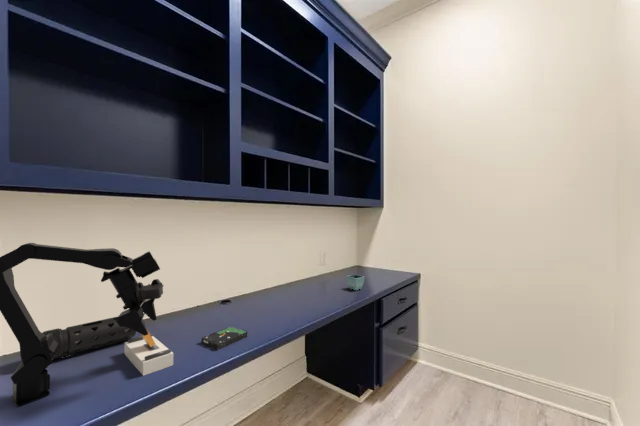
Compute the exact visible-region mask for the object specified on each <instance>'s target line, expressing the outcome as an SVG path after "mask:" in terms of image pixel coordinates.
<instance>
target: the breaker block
mask: <svg viewBox="0 0 640 426" xmlns="http://www.w3.org/2000/svg"><path fill="white" fill-rule="evenodd" d="M150 335H151V337H152V339H153V340H154V342H155V346H156V348H155V349H153V348H152V347H150V346H149V345H148V344H147V343H146V342H145V340H144V339H143V337H142V335H140V336H138V337H132V339H129V340H127V341H125V342H124V346H123V347H124V348H123V349H124V350H123V351H124V356H126V358H127V359H128V360H129V361H130V363H131V364H132V365H133V366H134V367H135V368H136V369H137V371H138V372H139V373H140V374H141V375H142V376H146V375H150V374H151V373H152V374H153V373H155V372H157V371H160V370H163V369H166V368H169V367H171V366H174V352H173V351H172V349H171V348H168V347H167V346H166V345H165V344H163V343H162V342H161V341H159V339H157V338H156V337H155V336H154V335H153V333H150Z"/></svg>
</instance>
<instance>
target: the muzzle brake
mask: <svg viewBox="0 0 640 426" xmlns="http://www.w3.org/2000/svg"><path fill="white" fill-rule="evenodd" d="M117 317H118V316H115V317H114V316H113V317H108V318H104V319H101V320H95V321H91V322H85V323H81V324H76V325H72V326H67V327H66V328H65V329H62V328H53V329H48V330H44V331H43V332H42V333H43V334H44V335H48V334H50V333H52V334H53V337H54V340H55V341H56V342H57V343H58V345H57V352H56V354H55V356H54V358H53V360H54V359H59V358H60V359H61V358H62V357H65V358H67V357H66V356H69V355H73V356H74V355H75V354H76V353H79V352H83V351H88V350H90V349H94V350H96V349H98V348H100V347H108V346H110V345H114V344H118V343H122V342H127V341H128V340H129V339H133V338H135V336H136V333H137V332H136V331H134V330H132V329H130V328H127V327H122V326H121V327H119V326H118V325H117V323H116V320H117ZM69 357H70V356H69ZM62 359H63V358H62Z"/></svg>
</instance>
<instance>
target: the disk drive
mask: <svg viewBox="0 0 640 426" xmlns="http://www.w3.org/2000/svg"><path fill="white" fill-rule="evenodd" d="M243 338H244V339H246V338H248V331H247V330H244V329H241V328H236V327H234V326H229V327H225V328H223V329H221V330H218V331H216V332H212V333H209V334H208V335H205V336H203V337H201V344H202V345H204V346H206V347H209V348H212V349H214V350H216V349H217V350H216V351H220V350H222V349H224V348H227V347H229V346H231V345H233V344H235V343H237V342H239V341H242V340H244V339H243ZM241 339H242V340H241ZM232 343H233V344H232ZM230 344H231V345H230ZM221 348H222V349H221ZM219 349H220V350H219Z"/></svg>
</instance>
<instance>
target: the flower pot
mask: <svg viewBox="0 0 640 426" xmlns="http://www.w3.org/2000/svg"><path fill="white" fill-rule="evenodd" d="M364 282H365V276H364V275H359V274H350V275H346V283H347V286H348V288H349V289H350V290H352V289H353V290H352V291H355V290H356V291H359V289H360V290H361V289H362V288H363V286H364Z"/></svg>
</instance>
